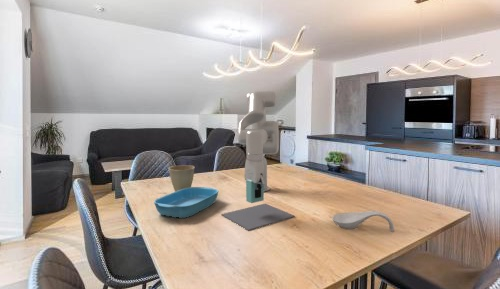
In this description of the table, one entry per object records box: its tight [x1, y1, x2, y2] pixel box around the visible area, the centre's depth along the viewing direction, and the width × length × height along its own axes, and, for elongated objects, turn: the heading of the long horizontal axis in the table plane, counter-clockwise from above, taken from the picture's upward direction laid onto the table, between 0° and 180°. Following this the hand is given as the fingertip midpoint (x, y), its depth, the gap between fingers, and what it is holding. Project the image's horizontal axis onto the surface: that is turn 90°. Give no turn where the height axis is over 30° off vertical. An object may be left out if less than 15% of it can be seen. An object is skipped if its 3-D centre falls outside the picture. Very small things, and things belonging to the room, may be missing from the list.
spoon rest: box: [332, 210, 395, 233], centre depth 119 cm, size 24×12×7 cm, turn 74°
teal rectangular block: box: [245, 180, 265, 204], centre depth 133 cm, size 4×7×10 cm, turn 125°
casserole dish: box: [153, 186, 219, 219], centre depth 145 cm, size 37×22×7 cm, turn 157°
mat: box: [221, 203, 296, 232], centre depth 133 cm, size 22×26×1 cm
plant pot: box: [168, 164, 196, 192], centre depth 170 cm, size 15×15×16 cm
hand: (255, 196), depth 133 cm, fingers closed on teal rectangular block, 4 cm apart
